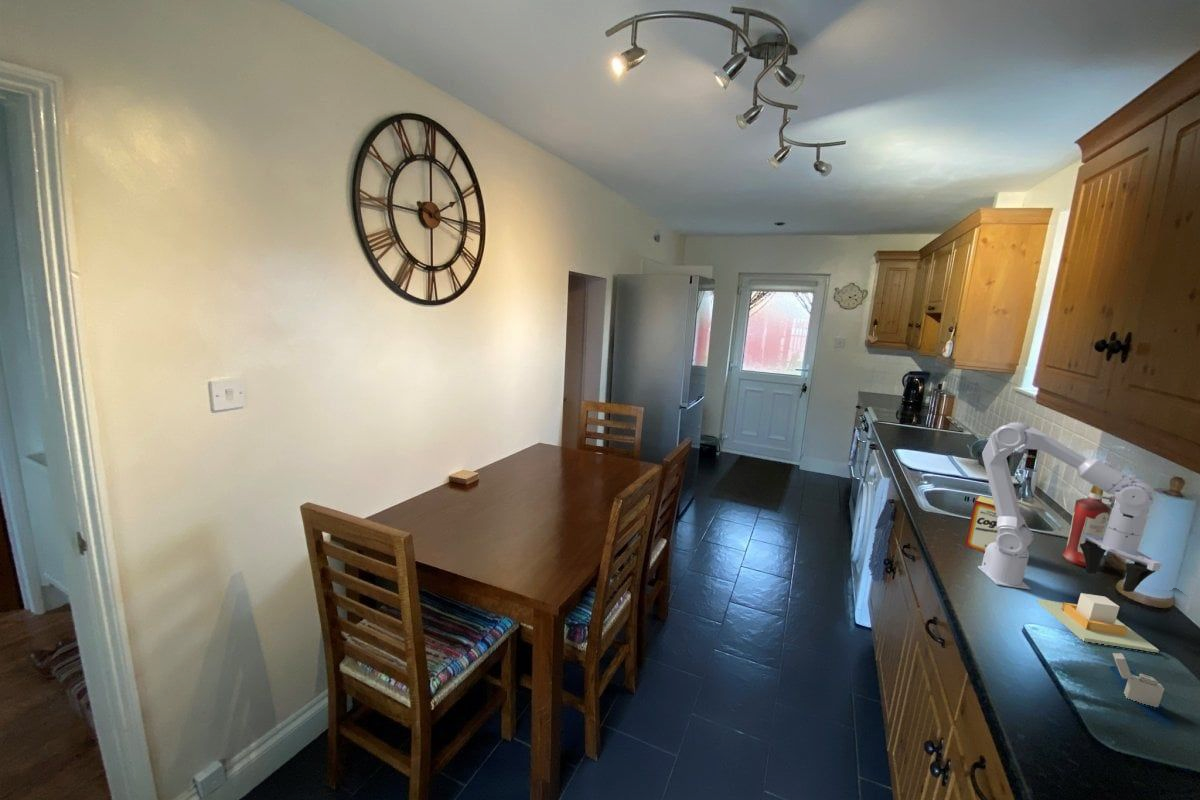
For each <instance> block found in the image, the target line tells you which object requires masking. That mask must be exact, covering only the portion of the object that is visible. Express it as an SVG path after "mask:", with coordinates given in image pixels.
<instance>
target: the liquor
mask: <svg viewBox="0 0 1200 800" xmlns="http://www.w3.org/2000/svg"><path fill="white" fill-rule="evenodd" d="M1103 495H1104V491H1103V490H1101V489H1100V488H1098V487H1096V486H1095V485H1093V484H1092V486H1091V489H1090V491H1089V493H1088V497H1087V498H1079V499H1076V500H1075V504H1074V509H1073V513H1072V519H1071V523H1070V530H1069V534H1068V539H1067V543H1066V547H1065V551H1064V552H1062V556H1063V557H1064V558H1065V559H1066V561H1067V562H1068V561H1069V562H1068V563H1070V562H1071V563H1070V564H1072V563H1073V565H1075V564H1076V566H1078V565H1079V567H1085V568H1086V562H1085V557H1084V554H1083V551H1082V549H1081V547H1080V544H1081V543H1084V542H1085V541H1082V540H1080V538H1081V535H1082V533H1090V534H1093V535H1095V536H1098V537H1101V538H1102V535H1103V533H1104V532H1103V531H1104V529H1105V527H1106V526H1107V525H1106V524H1107V523H1108V522H1107V521H1108V520H1109V517H1110V516H1109V515H1110V514H1111V511H1112V508H1111V507H1110V506H1109V505H1108V504H1106V503H1105V502H1103Z"/></svg>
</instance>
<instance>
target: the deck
mask: <svg viewBox="0 0 1200 800" xmlns="http://www.w3.org/2000/svg"><path fill="white" fill-rule="evenodd" d="M1037 603H1038V604H1039V605H1040V606H1041V607H1042V608H1044V610H1046V611H1047V612H1048V613H1049V614H1050V615H1052V616H1053V617H1054V618H1055V619H1056V620H1057V621H1059V622H1060V623H1061V624H1062V625H1063V626H1064V627H1066V628H1067V629H1068V630H1070V632H1072V633H1073V634H1074V635H1075V636H1076V637H1078V638H1079V639H1080V640H1081V639H1082V640H1083V641H1085V642H1084V643H1088V642H1091V643H1090V644H1095V643H1098V644H1097V645H1101V644H1104V645H1103V646H1107V645H1113V646H1120V647H1126V648H1133V649H1140V650H1145V651H1151V652H1158V653H1159V652H1160V649H1158V648H1157V647H1156V646H1154V644H1152V643H1150V642H1149V641H1148V640H1146V639H1145V638H1144V637H1142V636H1141V635H1139V634H1138V633H1137V632H1135V631H1134V630H1132V628H1130V627H1128V626H1127V625H1125V623H1123V622H1121V621H1120V620H1119V619H1118V618H1116V620H1115V624H1110V623H1103V622H1097V621H1091V620H1088V619H1087V618H1086V617H1085V616H1083V615H1082V614H1081V613H1079V612H1078V611H1077V610H1076V608H1077V605H1078V603H1077V604H1076V603H1070V602H1062V601H1061V602H1060V601H1056V600H1048V599H1041V598H1038V599H1037ZM1082 640H1081V641H1082ZM1113 646H1112V647H1113Z"/></svg>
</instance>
